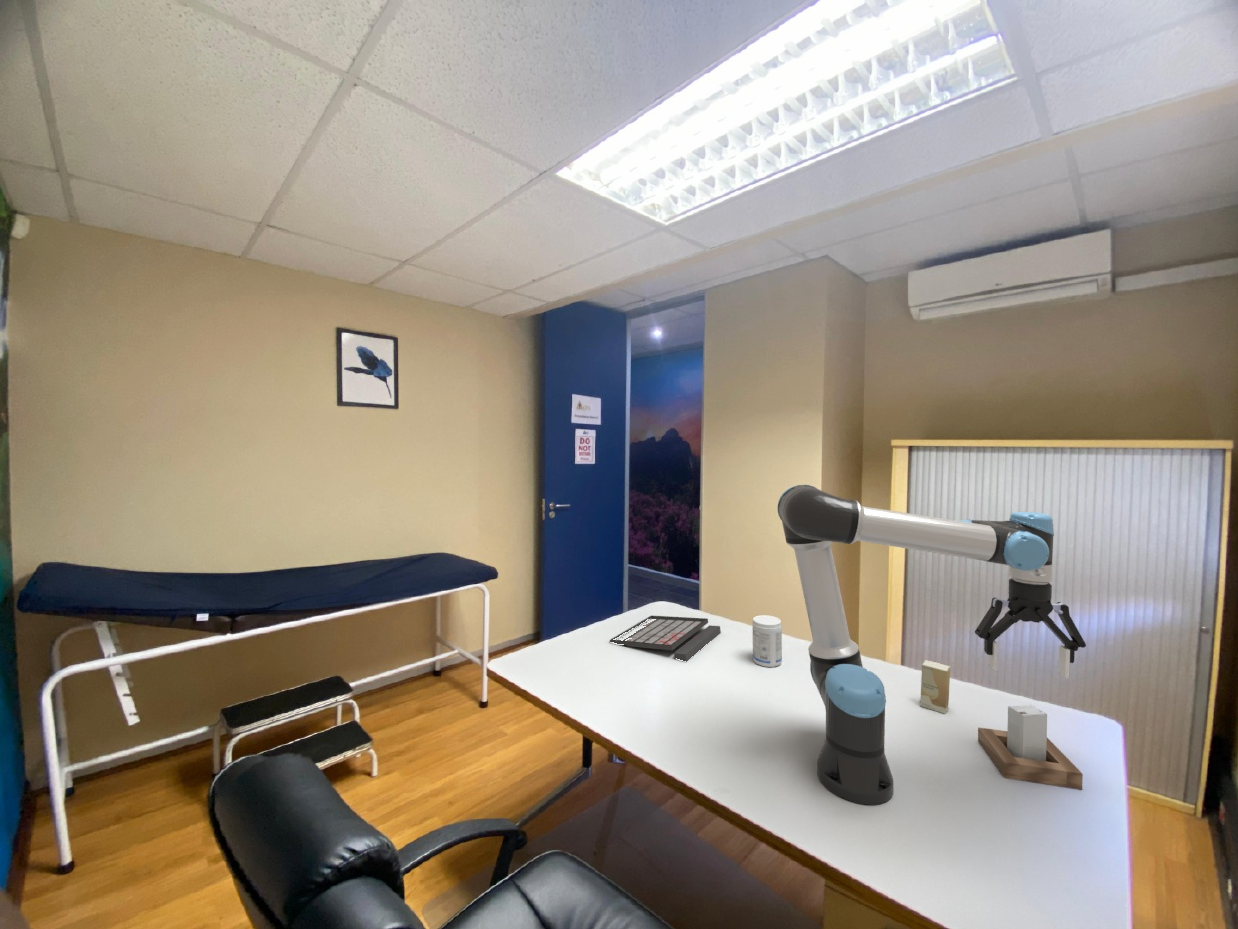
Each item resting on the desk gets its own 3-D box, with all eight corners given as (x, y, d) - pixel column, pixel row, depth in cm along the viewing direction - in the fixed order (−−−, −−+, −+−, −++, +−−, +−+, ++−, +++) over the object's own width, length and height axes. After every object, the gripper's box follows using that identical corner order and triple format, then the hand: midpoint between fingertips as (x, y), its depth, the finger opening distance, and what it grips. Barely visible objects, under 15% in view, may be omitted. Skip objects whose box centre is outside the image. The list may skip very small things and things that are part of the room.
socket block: (1004, 777, 108) (1004, 762, 108) (977, 741, 122) (978, 727, 121) (1082, 789, 104) (1082, 773, 104) (1045, 750, 118) (1046, 736, 118)
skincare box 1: (919, 706, 138) (920, 664, 138) (923, 700, 141) (923, 659, 141) (946, 715, 134) (947, 670, 133) (949, 708, 137) (950, 665, 136)
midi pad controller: (612, 658, 185) (687, 667, 168) (609, 640, 185) (684, 647, 168) (652, 627, 212) (721, 632, 194) (650, 611, 212) (718, 615, 194)
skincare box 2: (1029, 753, 115) (1030, 703, 115) (1047, 766, 111) (1048, 713, 110) (1005, 755, 115) (1006, 704, 114) (1022, 767, 110) (1023, 714, 110)
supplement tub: (772, 654, 173) (772, 613, 173) (787, 666, 164) (787, 623, 163) (747, 657, 171) (747, 616, 171) (761, 669, 162) (761, 625, 161)
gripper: (972, 580, 111) (970, 672, 112) (1109, 589, 104) (1106, 687, 105) (960, 572, 119) (958, 658, 119) (1086, 580, 112) (1084, 671, 112)
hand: (1027, 672), depth 112 cm, fingers open, 13 cm apart
